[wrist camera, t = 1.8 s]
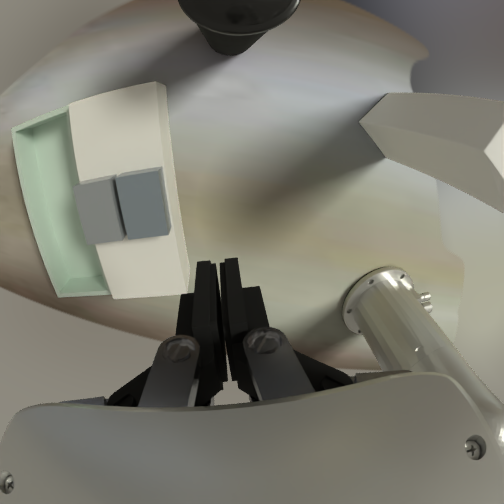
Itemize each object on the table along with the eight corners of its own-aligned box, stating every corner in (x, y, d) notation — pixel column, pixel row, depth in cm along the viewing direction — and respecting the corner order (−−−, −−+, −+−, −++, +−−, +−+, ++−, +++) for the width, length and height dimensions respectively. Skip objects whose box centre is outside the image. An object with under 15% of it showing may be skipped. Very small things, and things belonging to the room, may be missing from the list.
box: (87, 104, 24) (70, 104, 21) (122, 276, 35) (113, 294, 31) (30, 124, 24) (11, 128, 20) (69, 280, 34) (58, 297, 30)
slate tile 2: (116, 173, 24) (109, 179, 22) (128, 232, 27) (122, 240, 25) (81, 181, 24) (72, 186, 22) (94, 236, 26) (87, 245, 25)
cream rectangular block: (166, 85, 25) (156, 81, 21) (190, 270, 35) (187, 293, 31) (89, 103, 24) (68, 103, 20) (124, 276, 35) (113, 299, 30)
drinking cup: (207, 77, 25) (186, 17, 8) (184, 19, 22) (141, -87, 4) (277, 56, 25) (366, -13, 7) (253, -1, 21) (301, -113, 3)
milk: (357, 121, 29) (519, 163, 9) (388, 91, 27) (549, 109, 8) (386, 159, 31) (532, 233, 12) (414, 129, 29) (563, 179, 10)
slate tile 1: (162, 166, 24) (158, 170, 23) (171, 226, 27) (168, 235, 25) (122, 172, 24) (115, 177, 22) (133, 231, 27) (128, 239, 25)
